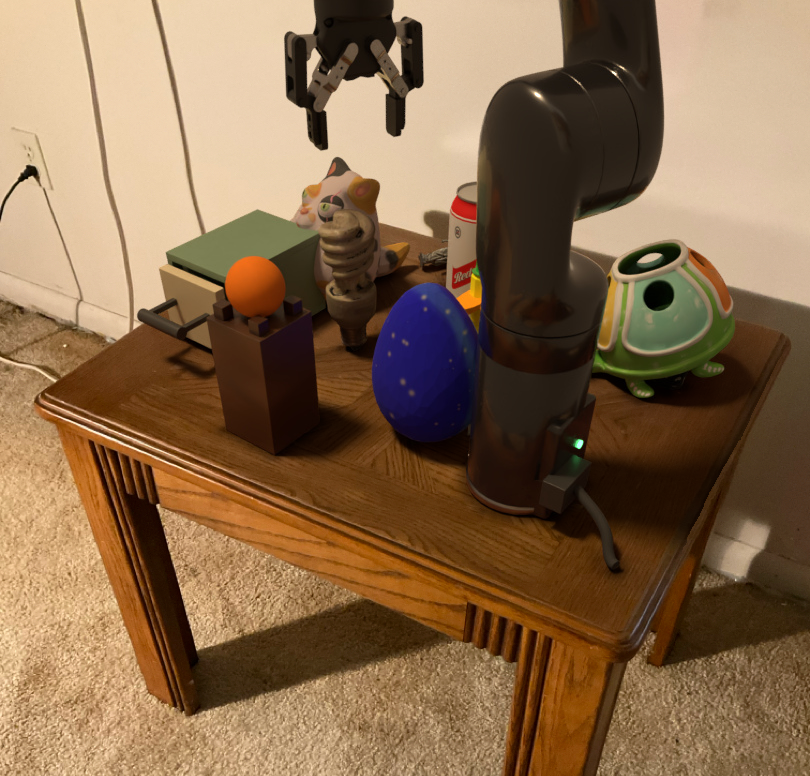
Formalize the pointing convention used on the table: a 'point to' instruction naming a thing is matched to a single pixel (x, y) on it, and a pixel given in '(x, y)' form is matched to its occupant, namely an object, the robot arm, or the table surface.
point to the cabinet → (257, 253)
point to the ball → (255, 286)
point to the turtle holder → (663, 316)
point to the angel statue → (435, 256)
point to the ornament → (426, 365)
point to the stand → (266, 373)
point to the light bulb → (350, 273)
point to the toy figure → (473, 298)
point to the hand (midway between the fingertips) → (358, 141)
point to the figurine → (346, 193)
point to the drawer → (185, 304)
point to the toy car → (670, 381)
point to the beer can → (462, 239)
